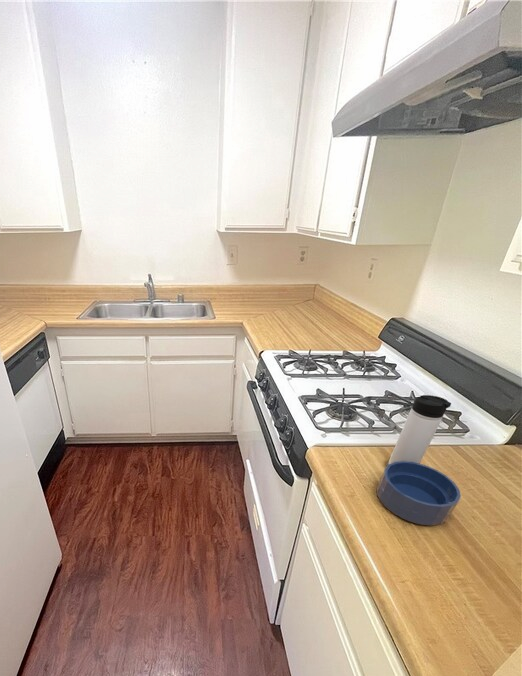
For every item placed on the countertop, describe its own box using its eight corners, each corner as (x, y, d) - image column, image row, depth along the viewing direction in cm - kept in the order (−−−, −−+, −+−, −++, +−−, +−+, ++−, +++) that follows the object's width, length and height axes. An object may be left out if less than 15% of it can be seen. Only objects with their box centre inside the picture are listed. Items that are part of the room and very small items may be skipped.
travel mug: (408, 481, 82) (443, 408, 71) (382, 466, 87) (411, 395, 76) (421, 471, 85) (456, 400, 74) (395, 458, 90) (425, 389, 79)
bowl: (430, 484, 82) (441, 464, 78) (460, 531, 70) (474, 510, 67) (368, 478, 83) (376, 458, 80) (387, 522, 71) (397, 501, 68)
